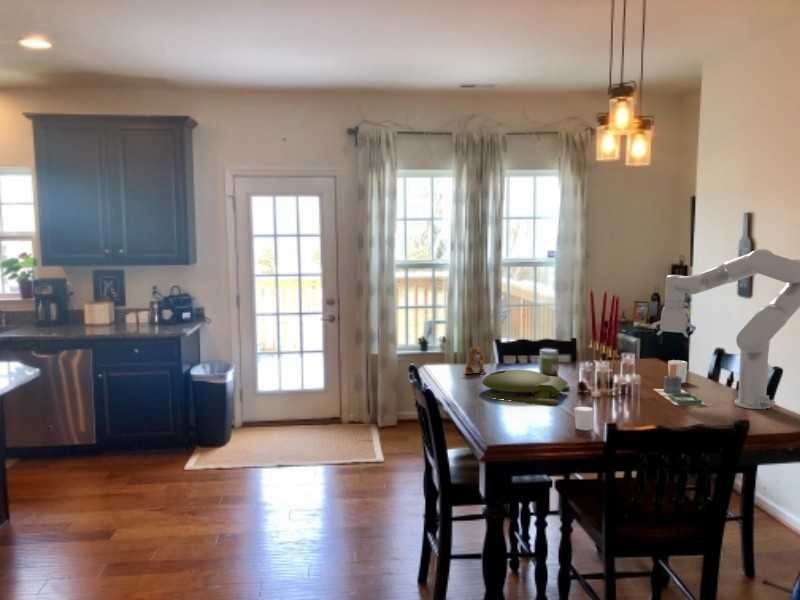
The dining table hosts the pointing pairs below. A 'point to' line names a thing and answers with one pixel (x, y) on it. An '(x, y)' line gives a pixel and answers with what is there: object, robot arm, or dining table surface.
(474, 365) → the stuffed squirrel
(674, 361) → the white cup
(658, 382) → the dining table surface
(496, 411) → the dining table surface
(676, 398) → the stand
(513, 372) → the spaceship
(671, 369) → the dowel
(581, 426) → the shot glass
